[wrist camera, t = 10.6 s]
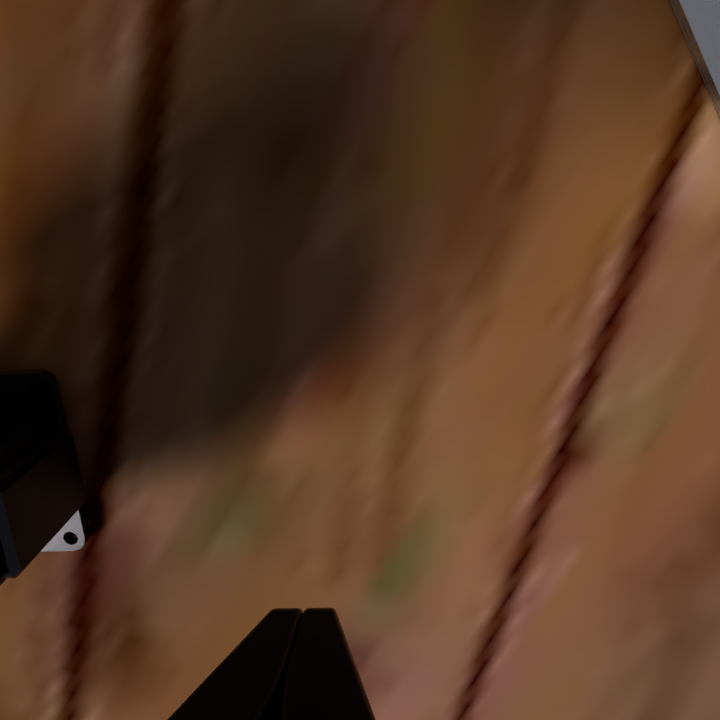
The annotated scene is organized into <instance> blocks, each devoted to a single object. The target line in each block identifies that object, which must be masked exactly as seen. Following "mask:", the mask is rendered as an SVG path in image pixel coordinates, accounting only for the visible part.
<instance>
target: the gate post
mask: <svg viewBox="0 0 720 720" xmlns="http://www.w3.org/2000/svg"><path fill="white" fill-rule="evenodd" d="M669 2H670V4H671V7H672V9H673V11H674V14H675V16H676V18H677V21H678V23H679V25H680V28H681V30H682V32H683V35H684V37H685V39H686V42H687V44H688V46H689V48H690V51H691V53H692V55H693V58H694V60H695V62H696V65H697V67H698V69H699V72H700V74H701V76H702V79H703V81H704V83H705V86H706V88H707V90H708V93H709V95H710V97H711V100H712V102H713V104H714V107H715V109H716V111H717V114H718V116H719V118H720V0H669Z"/></svg>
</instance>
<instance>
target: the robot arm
mask: <svg viewBox="0 0 720 720" xmlns="http://www.w3.org/2000/svg"><path fill="white" fill-rule="evenodd" d="M35 381H39V382H40V383H41V384H42V385H43V387H44V391H40V390H39V389H38V388H37V387H36V385H35ZM85 501H86V496H85V491H84V487H83V482H82V477H81V473H80V468H79V463H78V459H77V454H76V449H75V445H74V440H73V436H72V435H71V434H70V433H69V431H68V428H67V423H66V419H65V414H64V409H63V405H62V400H61V396H60V391H59V386H58V383H57V380H56V378H55V377H54V376H53V375H52V374H51V373H50V372H48V371H46V370H40V369H39V370H16V371H0V585H1V584H2V583H3V582H4V581H5V580H6V579H7V578H16V577H17V576H19V575H20V573H21V572H22V571H23V570H24V569H25V568H26V567H27V566H28V565H29V564H30V562H31V561H32V560H33V559H34V558H35V557H36V556H37V555H38V554H39V553H40V552H43V551H75V550H79V549H80V548H82V547H83V546H84V544H85V543H86V542H87V541H88V539H89V537H90V529H89V525H88V520H87V515H86V511H85V506H84V503H85ZM69 532H73V533H74V534H76V536H77V537H78V538H74V537H73V536H71V535H70V533H69ZM168 720H375V717H374V714H373V711H372V709H371V706H370V703H369V700H368V698H367V695H366V692H365V689H364V687H363V684H362V681H361V678H360V676H359V673H358V670H357V667H356V665H355V662H354V659H353V656H352V654H351V651H350V648H349V645H348V643H347V640H346V637H345V635H344V632H343V629H342V626H341V624H340V621H339V618H338V615H337V613H336V611H335V610H334V609H333V608H308V609H306V610H305V611H304V612H303V611H302V610H301V609H299V608H277V609H273V610H271V611H270V612H269V613H268V614H267V615H266V616H265V617H264V618H263V619H262V620H261V621H260V622H259V623H258V625H257V626H256V627H255V628H254V629H253V630H252V631H251V632H250V633H249V634H248V635H247V636H246V637H245V638H244V639H243V640H242V641H241V642H240V644H239V645H238V646H237V647H236V648H235V649H234V650H233V651H232V652H231V653H230V654H229V655H228V656H227V657H226V658H225V659H224V660H223V661H222V663H221V664H220V665H219V666H218V667H217V668H216V669H215V670H214V671H213V672H212V673H211V674H210V675H209V676H208V677H207V678H206V679H205V681H204V682H203V683H202V684H201V685H200V686H199V687H198V688H197V689H196V690H195V691H194V692H193V693H192V694H191V695H190V696H189V697H188V698H187V700H186V701H185V702H184V703H183V704H182V705H181V706H180V707H179V708H178V709H177V710H176V711H175V712H174V713H173V714H172V715H171V716H170V718H169V719H168Z"/></svg>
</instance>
